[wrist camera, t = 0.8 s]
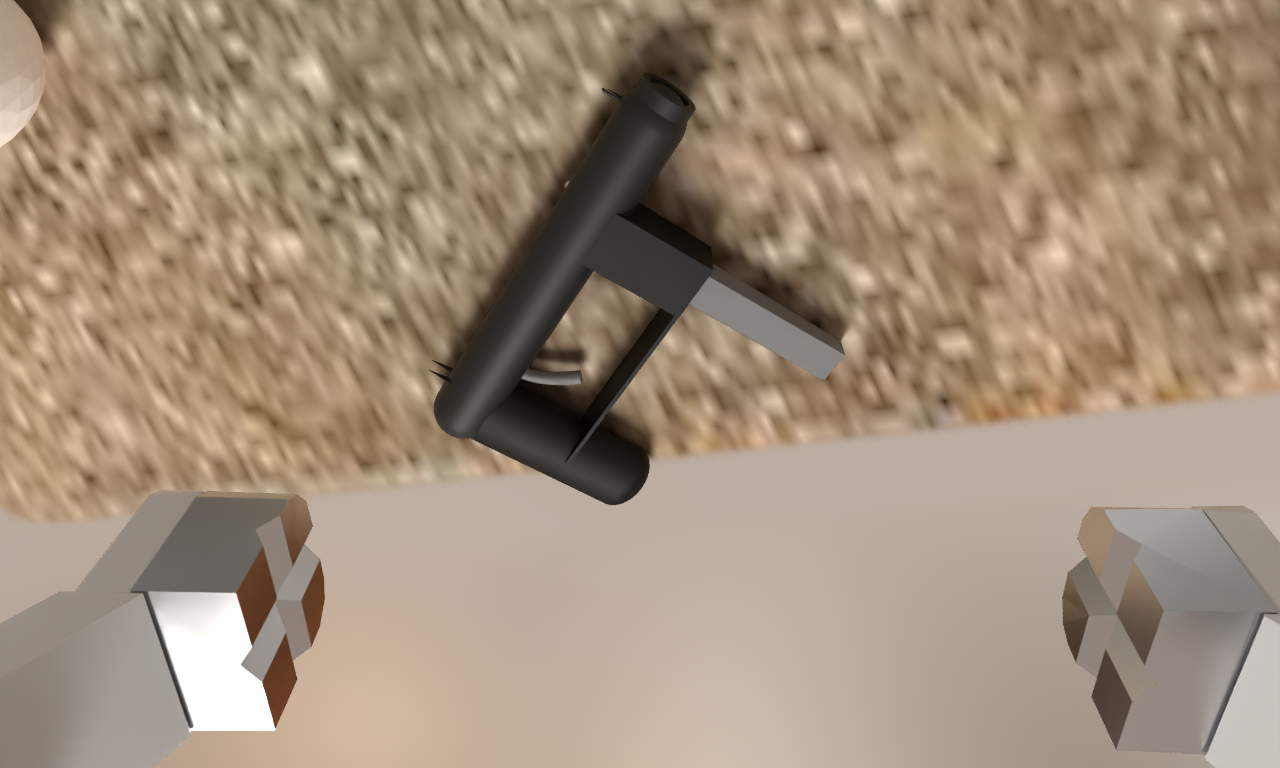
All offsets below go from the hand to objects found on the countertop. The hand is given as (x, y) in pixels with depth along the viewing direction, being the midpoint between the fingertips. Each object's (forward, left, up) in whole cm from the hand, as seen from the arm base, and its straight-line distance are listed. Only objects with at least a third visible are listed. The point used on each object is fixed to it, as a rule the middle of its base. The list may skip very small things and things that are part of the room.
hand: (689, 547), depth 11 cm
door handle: (+6, +14, -35) cm, 38 cm away
